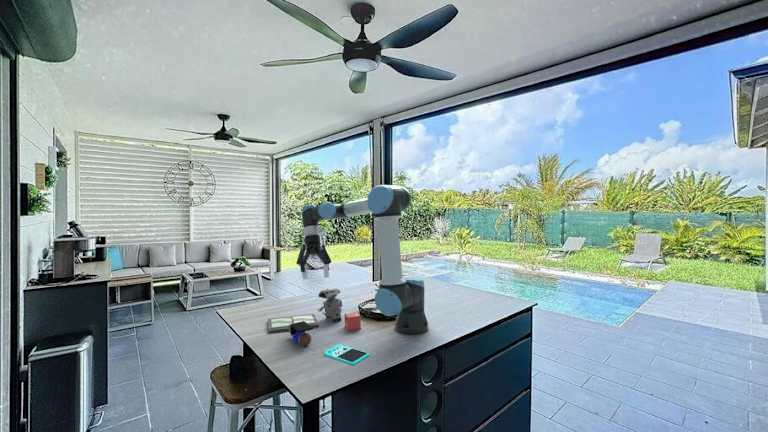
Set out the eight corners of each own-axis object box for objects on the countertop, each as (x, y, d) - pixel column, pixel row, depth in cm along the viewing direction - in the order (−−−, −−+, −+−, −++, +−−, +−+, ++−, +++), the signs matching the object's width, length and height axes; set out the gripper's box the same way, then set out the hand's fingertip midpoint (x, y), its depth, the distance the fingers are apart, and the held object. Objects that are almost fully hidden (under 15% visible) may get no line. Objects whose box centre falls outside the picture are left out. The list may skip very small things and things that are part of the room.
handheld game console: (339, 346, 139) (339, 343, 139) (370, 356, 130) (370, 352, 130) (321, 355, 131) (321, 352, 131) (353, 367, 122) (353, 363, 122)
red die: (360, 329, 156) (360, 315, 156) (347, 330, 154) (347, 317, 154) (357, 324, 162) (357, 311, 162) (344, 326, 160) (344, 313, 160)
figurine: (315, 319, 169) (314, 289, 169) (336, 315, 176) (335, 285, 175) (322, 324, 162) (322, 293, 161) (344, 320, 168) (344, 289, 168)
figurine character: (287, 340, 148) (298, 349, 135) (286, 322, 148) (297, 329, 136) (302, 336, 152) (315, 345, 139) (301, 319, 152) (314, 325, 139)
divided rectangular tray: (318, 327, 159) (318, 323, 159) (268, 333, 152) (268, 329, 152) (314, 316, 174) (314, 313, 174) (268, 321, 167) (268, 318, 167)
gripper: (325, 238, 185) (330, 277, 180) (286, 236, 165) (290, 280, 161) (335, 235, 180) (340, 275, 176) (296, 232, 161) (300, 278, 156)
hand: (316, 278), depth 168 cm, fingers open, 13 cm apart
